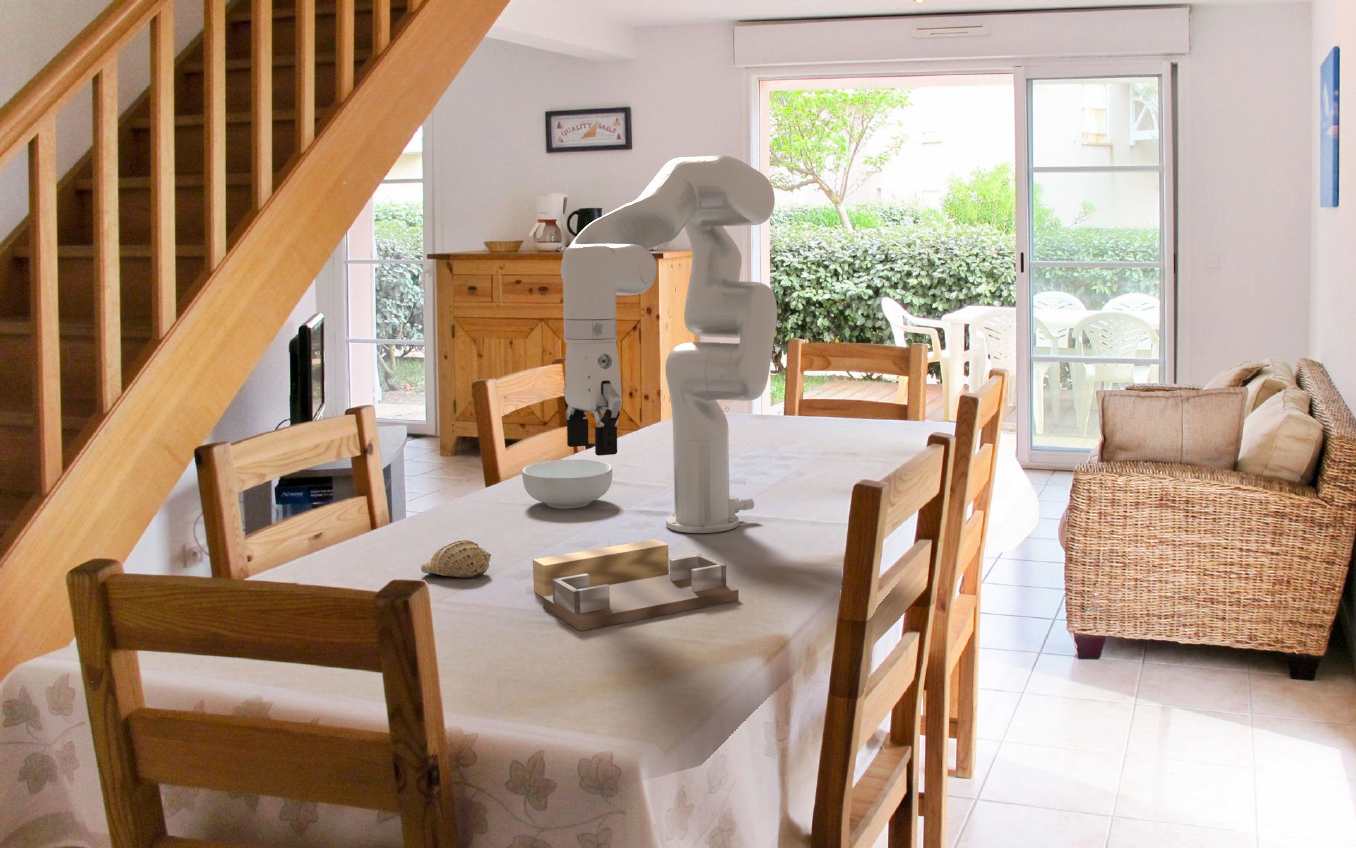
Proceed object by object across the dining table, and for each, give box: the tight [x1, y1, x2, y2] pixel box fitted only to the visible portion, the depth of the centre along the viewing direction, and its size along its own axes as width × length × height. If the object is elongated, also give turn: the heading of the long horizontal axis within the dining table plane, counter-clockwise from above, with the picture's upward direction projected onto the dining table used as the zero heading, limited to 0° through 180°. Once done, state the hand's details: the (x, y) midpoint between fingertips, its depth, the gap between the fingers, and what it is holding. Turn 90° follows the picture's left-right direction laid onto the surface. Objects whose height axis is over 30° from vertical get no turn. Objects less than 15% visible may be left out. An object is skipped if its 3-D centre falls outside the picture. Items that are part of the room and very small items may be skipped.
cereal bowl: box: [521, 458, 613, 510], centre depth 234 cm, size 17×17×7 cm
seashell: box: [420, 539, 492, 579], centre depth 187 cm, size 8×6×10 cm
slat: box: [532, 538, 670, 598], centre depth 181 cm, size 20×4×5 cm, turn 120°
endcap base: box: [542, 553, 739, 632], centre depth 171 cm, size 24×12×4 cm, turn 119°
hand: (591, 450), depth 180 cm, fingers open, 9 cm apart
